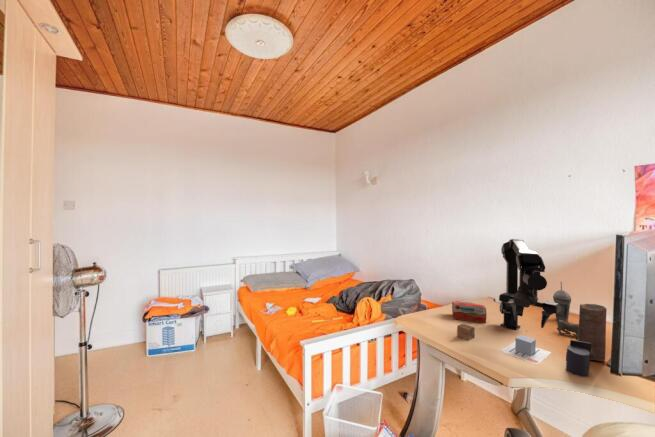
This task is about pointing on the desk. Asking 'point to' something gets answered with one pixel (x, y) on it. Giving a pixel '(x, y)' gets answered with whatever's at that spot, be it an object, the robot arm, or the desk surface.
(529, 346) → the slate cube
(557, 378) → the desk surface
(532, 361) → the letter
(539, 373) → the desk surface
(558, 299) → the beverage cup
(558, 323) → the dog figurine
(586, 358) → the speaker
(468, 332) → the walnut block
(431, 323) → the desk surface
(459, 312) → the medicine box
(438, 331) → the desk surface
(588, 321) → the candle
